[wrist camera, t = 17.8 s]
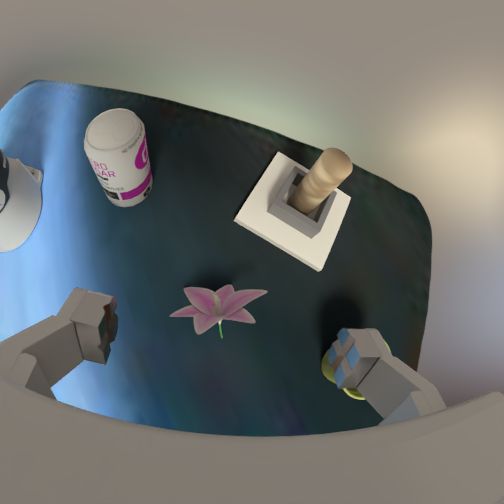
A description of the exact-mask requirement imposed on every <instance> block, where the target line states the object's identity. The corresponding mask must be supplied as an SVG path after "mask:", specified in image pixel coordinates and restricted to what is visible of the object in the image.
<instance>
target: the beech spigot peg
mask: <svg viewBox="0 0 504 504" xmlns="http://www.w3.org/2000/svg"><path fill="white" fill-rule="evenodd" d="M351 172H352V162H351V160H350V159H349V157H348V156H347V155H346V154H345V153H344V152H343V151H341V150H339V149H336V148H328V149H326V150H325V151H324V152H323V153H322V155H321V156H320V157H319V159H318V160H317V161H316V163H315V164H314V165H313V167H312V168H311V169H310V171H309V172H308V173H307V175H306V176H305V177H304V179H303V180H302V181H301V183H300V184H299V185H298V186H297V188H296V189H295V190H294V192H293V193H292V194H291V196H290V197H289V198H288V200H287V205H289V206H291V207H292V208H294V209H295V210H297V211H299V212H300V213H302V214H303V215H305V216H308V215H309V214H310V213H311V212H312V211H313V210H314V209H315V208H316V207H317V206H318V205H319V204H320V203H321V202H322V201H323V200H324V199H325V198H326V197H327V196H328V195H329V194H330V193H331V192H332V191H333V190H334V189H335V188H336V187H337V186H338V185H339V184H340V183H341V182H342V181H343V180H344V179H345V178H346V177H347V176H348V175H349V174H350V173H351Z"/></svg>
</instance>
